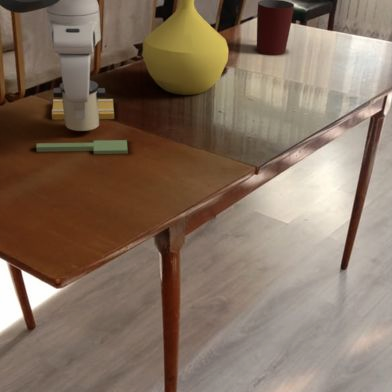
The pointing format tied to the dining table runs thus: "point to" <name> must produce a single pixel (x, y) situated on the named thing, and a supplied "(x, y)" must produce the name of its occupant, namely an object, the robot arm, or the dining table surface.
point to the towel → (103, 105)
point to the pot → (90, 108)
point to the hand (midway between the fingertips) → (81, 109)
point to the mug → (273, 26)
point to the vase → (185, 52)
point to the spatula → (87, 147)
